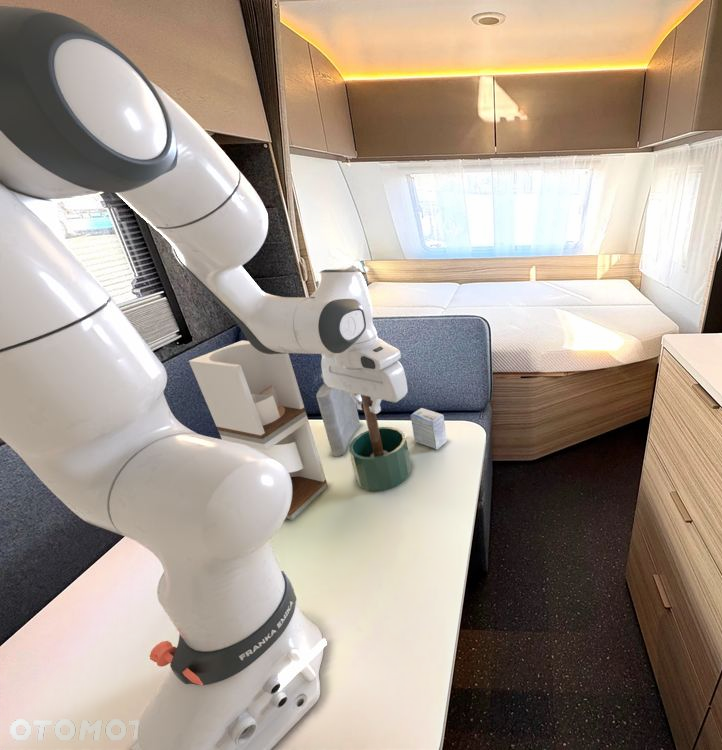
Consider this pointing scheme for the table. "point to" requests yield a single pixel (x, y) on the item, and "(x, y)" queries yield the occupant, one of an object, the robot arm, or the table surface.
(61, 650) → the table surface
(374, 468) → the canister
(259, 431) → the white storage rack
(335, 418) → the hip flask
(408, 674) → the table surface
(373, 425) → the wooden plunger stick
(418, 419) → the medicine box
